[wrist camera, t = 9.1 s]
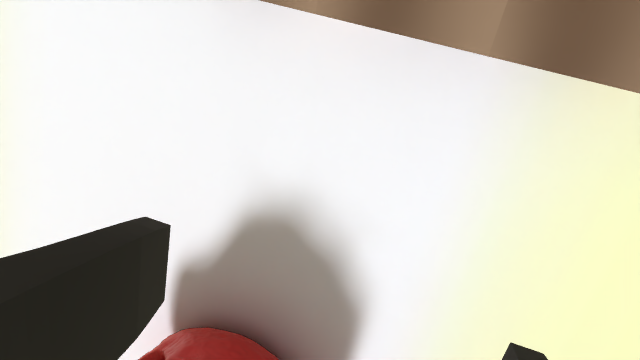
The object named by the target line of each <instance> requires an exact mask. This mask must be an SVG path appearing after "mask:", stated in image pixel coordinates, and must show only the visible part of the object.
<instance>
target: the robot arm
mask: <svg viewBox="0 0 640 360" xmlns="http://www.w3.org/2000/svg"><path fill="white" fill-rule="evenodd" d="M170 226H171V225H168V224H165V223H162V222H160V221H157V220H154V219H151V218H148V217H142V218H138V219H134V220H130V221H126V222H123V223H119V224H116V225H113V226H109V227H106V228H103V229H100V230H96V231H93V232H90V233H87V234H83V235H80V236H77V237H74V238H70V239H67V240H64V241H60V242H57V243H54V244H51V245H47V246H44V247H40V248H37V249H33V250H29V251H26V252H22V253H18V254H15V255H11V256H7V257H3V258H0V360H118V359H119V357H120V356H121V355H122V354H123V353H124V352H125V351H126V350H127V349H128V348H129V347H130V346H131V344H132V343H133V342H134V341H135V340H136V339H137V338H138V336H139V335H140V334H141V332H142V331H143V330H144V328H145V327H146V326H147V324H148V323H149V322H150V320H151V319H152V317H153V316H154V314H155V313H156V312H157V310H158V309H159V307H160V306H161V304H162V303H163V302H164V298H165V286H166V274H167V262H168V250H169V238H170ZM502 360H548V359H547V358H546V356H545V355H544V354H543V353H540V352H537V351H534V350H531V349H528V348H525V347H522V346H520V345H517V344H514V343H510V344H509V346H508V348H507V350H506V352H505V354H504V356H503V358H502Z"/></svg>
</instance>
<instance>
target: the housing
mask: <svg viewBox="0 0 640 360" xmlns="http://www.w3.org/2000/svg"><path fill="white" fill-rule="evenodd" d="M260 1H264V2H268V3H273V4H277V5H281V6H285V7H289V8H293V9H297V10H301V11H305V12H309V13H313V14H317V15H322V16H326V17H330V18H334V19H338V20H342V21H346V22H350V23H354V24H358V25H362V26H367V27H371V28H375V29H379V30H383V31H387V32H391V33H395V34H399V35H403V36H407V37H411V38H416V39H420V40H424V41H428V42H432V43H436V44H440V45H444V46H448V47H452V48H456V49H461V50H465V51H469V52H473V53H477V54H481V55H485V56H489V57H493V58H497V59H501V60H505V61H510V62H514V63H518V64H522V65H526V66H530V67H534V68H538V69H542V70H546V71H550V72H555V73H559V74H563V75H567V76H571V77H575V78H579V79H583V80H587V81H591V82H595V83H599V84H604V85H608V86H612V87H616V88H620V89H624V90H628V91H632V92H636V93H640V0H260Z"/></svg>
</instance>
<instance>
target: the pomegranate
mask: <svg viewBox="0 0 640 360" xmlns="http://www.w3.org/2000/svg"><path fill="white" fill-rule="evenodd" d="M138 360H279V359H278V358H277V357H276V356H274V355H273V354H271V353H270V352H269V351H267V350H266V349H265V348H263V347H262V346H260V345H259V344H258V343H256V342H254V341H253V340H251V339H249V338H246V337H244V336H242V335H240V334H236V333H232V332H229V331H224V330H220V329H213V328H209V327H206V328H189V329H184V330H181V331H179V332H177V333H175V334H172V335H170V336H168V337H167V338H166V339H164V340H163V341H162V342H161V343H160V344H159V345H158V346H157V347H155V348H154V349H153V350H152V351H150V352H148V353H146V354H145V355H144V356H142V357H141V358H140V359H138Z"/></svg>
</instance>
